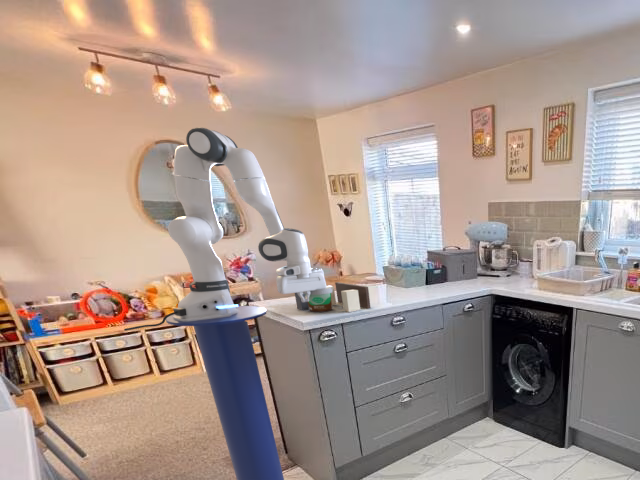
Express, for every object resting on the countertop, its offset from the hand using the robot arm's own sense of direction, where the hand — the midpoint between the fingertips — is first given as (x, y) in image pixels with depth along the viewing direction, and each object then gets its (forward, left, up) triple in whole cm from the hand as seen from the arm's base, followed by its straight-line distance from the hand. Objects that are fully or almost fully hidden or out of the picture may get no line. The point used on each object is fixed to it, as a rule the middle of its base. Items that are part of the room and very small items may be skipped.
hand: (305, 301), depth 180 cm
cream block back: (+16, +10, -5) cm, 19 cm away
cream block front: (+16, -9, -5) cm, 19 cm away
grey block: (+5, +10, -5) cm, 12 cm away
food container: (+7, 0, -5) cm, 9 cm away
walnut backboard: (+24, 0, -5) cm, 24 cm away
